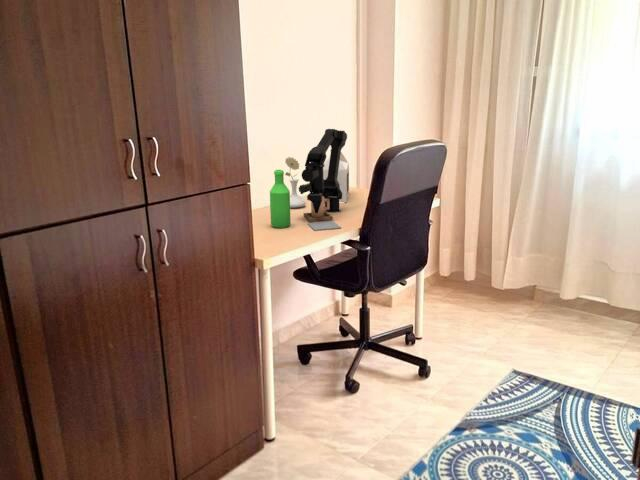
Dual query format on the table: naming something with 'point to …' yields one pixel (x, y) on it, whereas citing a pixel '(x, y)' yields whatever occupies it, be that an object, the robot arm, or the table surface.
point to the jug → (321, 209)
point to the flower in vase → (294, 184)
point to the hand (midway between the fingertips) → (317, 211)
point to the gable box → (340, 176)
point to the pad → (324, 225)
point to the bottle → (280, 202)
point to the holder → (318, 219)
